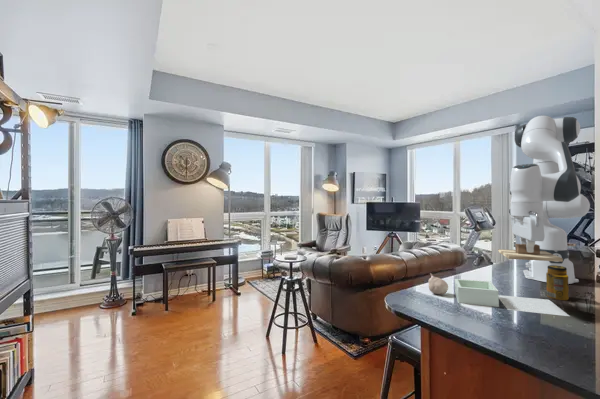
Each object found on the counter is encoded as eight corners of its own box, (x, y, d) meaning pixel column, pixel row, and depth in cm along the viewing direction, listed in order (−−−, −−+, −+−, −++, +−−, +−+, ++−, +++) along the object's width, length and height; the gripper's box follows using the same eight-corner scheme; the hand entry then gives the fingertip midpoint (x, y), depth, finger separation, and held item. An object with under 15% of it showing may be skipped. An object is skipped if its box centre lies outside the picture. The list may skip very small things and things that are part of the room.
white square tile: (496, 296, 109) (496, 294, 109) (548, 301, 103) (548, 299, 103) (507, 311, 95) (507, 309, 95) (570, 318, 89) (570, 316, 89)
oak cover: (498, 251, 108) (498, 241, 108) (544, 253, 103) (544, 242, 103) (508, 258, 95) (508, 246, 96) (562, 261, 90) (562, 248, 90)
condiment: (573, 300, 104) (572, 266, 104) (565, 305, 100) (564, 270, 100) (547, 294, 110) (547, 263, 111) (539, 299, 106) (538, 266, 106)
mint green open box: (455, 294, 113) (454, 278, 113) (491, 297, 108) (490, 281, 108) (458, 304, 102) (458, 287, 102) (499, 308, 97) (498, 290, 97)
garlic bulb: (438, 290, 118) (438, 271, 118) (451, 295, 112) (451, 274, 112) (425, 292, 116) (425, 272, 116) (437, 297, 109) (437, 276, 110)
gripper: (550, 212, 89) (551, 257, 88) (527, 209, 107) (528, 246, 107) (525, 212, 91) (526, 256, 91) (507, 209, 110) (508, 246, 110)
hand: (527, 251), depth 99 cm, fingers closed on oak cover, 3 cm apart
